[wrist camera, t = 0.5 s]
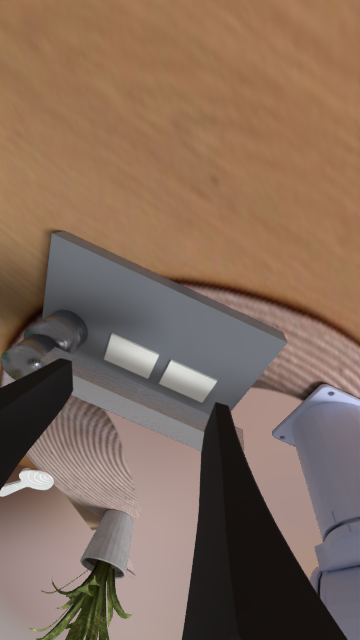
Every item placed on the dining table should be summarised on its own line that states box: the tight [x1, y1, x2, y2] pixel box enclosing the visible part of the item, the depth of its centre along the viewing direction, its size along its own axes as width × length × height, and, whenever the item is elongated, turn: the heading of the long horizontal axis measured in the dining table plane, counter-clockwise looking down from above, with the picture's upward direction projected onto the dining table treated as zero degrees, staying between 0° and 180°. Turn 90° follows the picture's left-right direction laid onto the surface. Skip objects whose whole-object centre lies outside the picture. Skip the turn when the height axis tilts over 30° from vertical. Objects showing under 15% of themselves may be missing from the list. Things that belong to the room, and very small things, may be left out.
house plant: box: [30, 510, 134, 640], centre depth 32 cm, size 14×14×16 cm
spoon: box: [0, 468, 53, 496], centre depth 40 cm, size 5×18×1 cm, turn 127°
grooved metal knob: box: [24, 310, 88, 354], centre depth 20 cm, size 4×4×4 cm
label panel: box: [42, 231, 288, 415], centre depth 21 cm, size 19×15×2 cm
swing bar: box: [1, 334, 244, 451], centre depth 17 cm, size 18×3×2 cm, turn 68°
